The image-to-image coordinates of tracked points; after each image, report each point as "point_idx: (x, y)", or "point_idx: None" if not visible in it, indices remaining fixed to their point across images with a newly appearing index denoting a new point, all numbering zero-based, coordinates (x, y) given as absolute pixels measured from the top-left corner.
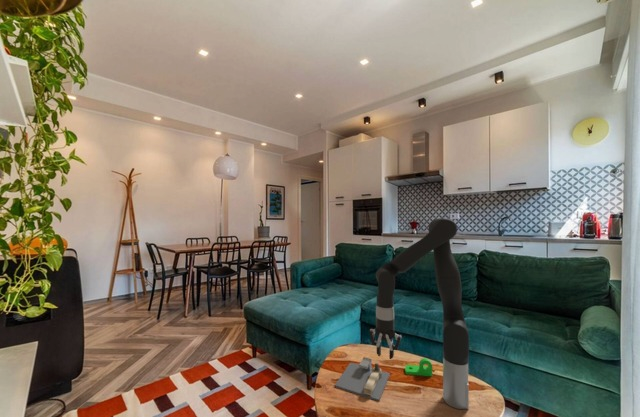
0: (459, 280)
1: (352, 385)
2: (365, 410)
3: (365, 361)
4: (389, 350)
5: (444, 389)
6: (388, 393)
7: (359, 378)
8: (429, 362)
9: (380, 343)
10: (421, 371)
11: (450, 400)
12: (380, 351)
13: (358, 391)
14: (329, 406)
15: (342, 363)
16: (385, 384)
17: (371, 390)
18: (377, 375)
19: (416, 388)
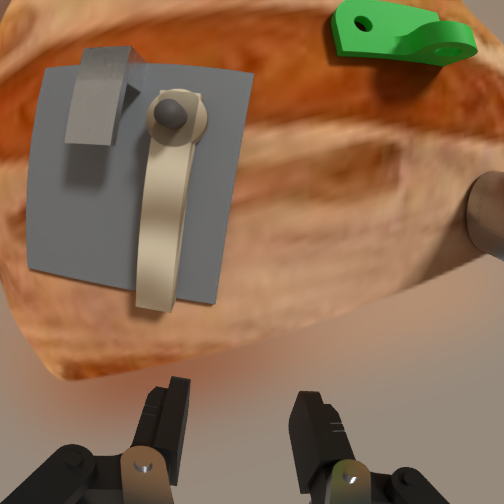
0: None
1: (83, 246)
2: (173, 358)
3: (95, 90)
4: (300, 492)
5: (495, 235)
6: (253, 234)
7: (98, 180)
8: (474, 49)
9: (168, 482)
10: (416, 54)
11: (487, 251)
12: (184, 415)
13: (117, 278)
14: (63, 363)
15: (19, 88)
16: (234, 179)
17: (173, 300)
18: (184, 175)
19: (384, 157)
